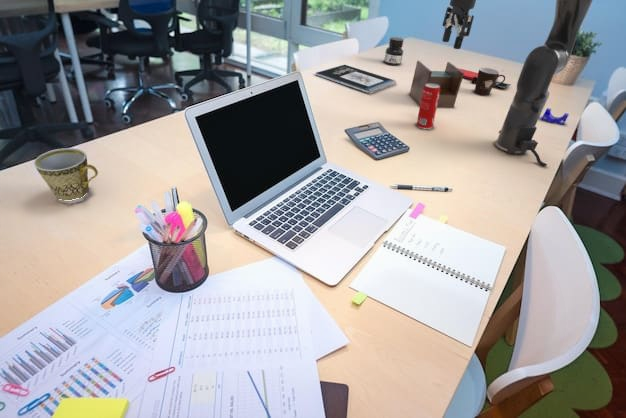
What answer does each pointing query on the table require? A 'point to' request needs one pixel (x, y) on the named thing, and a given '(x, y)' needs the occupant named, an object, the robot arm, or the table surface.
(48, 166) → the ceramic cup
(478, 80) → the coffee mug
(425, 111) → the beverage can
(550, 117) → the cable holder
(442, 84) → the shelf
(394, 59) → the ink bottle
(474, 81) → the red board with handle
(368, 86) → the sketchbook
